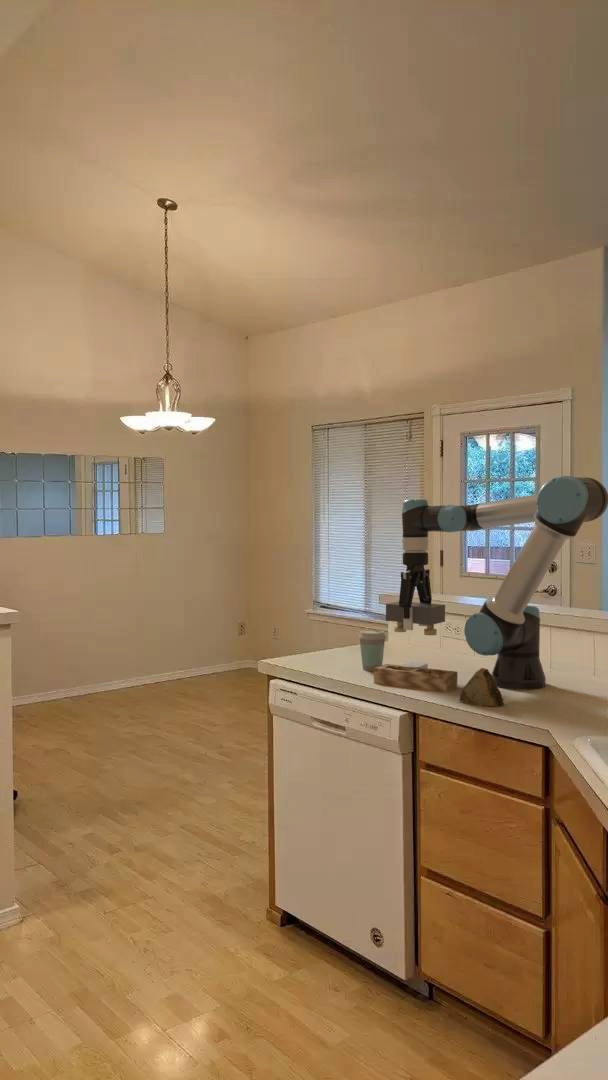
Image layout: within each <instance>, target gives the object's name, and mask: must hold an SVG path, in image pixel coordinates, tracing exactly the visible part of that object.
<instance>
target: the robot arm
mask: <svg viewBox="0 0 608 1080" xmlns="http://www.w3.org/2000/svg"><path fill="white" fill-rule="evenodd" d="M607 508H608V491H607V488H606V486H605V485H604V484H603V483H601V482H600V481H599V480H597V479H595V478H592V477H586V476H585V477H577V476H570V475H564V476H559V477H554V478H552V479H549V480H547V481H546V482H545V483H544V484H543V485H542V487H541V488H540V489H539V491H538V493H536V494H530V495H524V496H518V497H513V498H512V497H511V498H507V499H500V500H493V501H487V502H481V503H473V504H467V505H454V504H452V505H451V504H447V505H429V502H428V500H427V499H426V498H425V499H421V498H420V499H405V500H403V502H402V508H401V509H402V510H401V520H402V521H401V522H402V540H401V543H402V550H403V551H404V552H403V553H402V564H403V565H404V566H406V569H405V570H406V571H401V572H400V586H399V587H400V588H399V590H400V591H399V599H398V602H399V606H400V607H403V630H406V631H414V623H413V608H411V604H412V602H413V599H414V595H415V590H417V591H416V592H417V595H418V599H419V603H429V604H432V601H433V599H432V598H433V597H432V588H431V579H430V575H431V574H430V573H431V572H430V569H429V568H425V566H427V565H428V564H429V553H428V552H427V551H428V550H429V532H437V533H438V532H440V533H441V532H443V533H444V532H445V533H456V532H462V531H463V532H467V531H468V532H474V531H475V532H476V531H479V530H483V529H484V530H485V529H491V528H498V527H505V526H513V525H520V524H521V525H522V524H528V523H535V524H534V527H533V529H532V530H531V531H530V533H529V534H528V537H527V538H526V540H525V542H524V544H523V546H522V548H521V549H520V551H519V553H518V555H517V556H516V557H515V560H514V562H513V563H512V564H511V567H510V569H509V570H508V572H507V574H506V576H505V577H504V579H503V580H502V583H501V584H500V585H499V588H498V590H497V591H496V593H495V595H494V596H492V597H488V598H487V599H485V601H484V603H483V605H482V607H481V608H480V610H479V612H476V613H473V614H472V615H470V616H469V617H468V619H466V621H465V624H464V629H463V631H464V632H463V633H464V636H465V639H466V643H467V644H468V646H469V648H470V649H471V650H472V651H474V653H476V654H478V655H480V656H495V655H496V656H497V657H496V660H495V663H494V667H493V669H492V672H491V675H492V677H493V678H494V680H495V683H496V684H497V687H498V688H504V689H510V690H536V689H542V688H545V687H546V683H547V680H546V674H545V672H544V669H543V665H542V663H541V660H540V630H541V629H540V627H541V626H540V625H541V624H540V623H541V617H540V609H539V608H538V607H537V606H535V605H529V603H530V601H531V600H532V598H533V596H534V594H535V593H536V591H537V590H538V588H539V586H540V584H542V581H543V580H544V577H545V576H546V574H547V572H548V570H549V569H550V568H551V566H552V564H553V563H554V561H555V559H556V557H557V556H558V554H559V552H560V551H561V549H562V547H563V545H564V543H565V542H566V540H568V539H572V538H575V537H576V535H577V534H578V532H579V530H580V529H581V527H582V525H583V524H584V523H586V522H587V523H588V522H592V521H595V520H597V519H599V518H600V517H602V516H603V514H604V513H605V512H606V511H607ZM402 601H403V602H402ZM418 626H419V627H427V625H425V624H418Z"/></svg>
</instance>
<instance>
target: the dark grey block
mask: <svg viewBox="0 0 608 1080" xmlns="http://www.w3.org/2000/svg"><path fill="white" fill-rule="evenodd" d="M402 602H403V601H402ZM411 608H413V624H417V625H419V624H425V625H427V626H426V628H424V629H423V630H424V631H423V635H424V636H437V633H438V632H437V630H438V629H436V628H435V625H437V624H442V623H444V622H445V623H446V604H439V603H431V604H429V603H420V602H416V601H414V602H413V601H412V604H411ZM385 621H386V622H396V625H394V626H393V628H394V630H393V632H395V633H405V632H407V630H403V607H400V606H399V601H395V602H389V603H386V604H385Z"/></svg>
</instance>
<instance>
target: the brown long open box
mask: <svg viewBox="0 0 608 1080" xmlns="http://www.w3.org/2000/svg"><path fill="white" fill-rule="evenodd" d="M402 665H403V664H400V665H399V664H393V663H392V664H391V663H385V664H382V666H379V667H376V668H374V671H373V683H374V684H380V685H386V686H397V687H401V688H412V689H418V690H419V689H420V690H425V691H427V690H428V691H433V692H434V691H435V692H443V693H447V692H449V691H452V690H454V689H456V688H458V671H457V670H456V671H454V670H445V669H436V668H429V667H428V668H420V667H411V666H402Z"/></svg>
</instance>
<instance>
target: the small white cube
mask: <svg viewBox="0 0 608 1080" xmlns="http://www.w3.org/2000/svg"><path fill="white" fill-rule="evenodd" d="M401 665H402V666H411V667H420V668H429V665H428V663H425V662H416V661H409V662H406V663H404V664H401Z"/></svg>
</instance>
